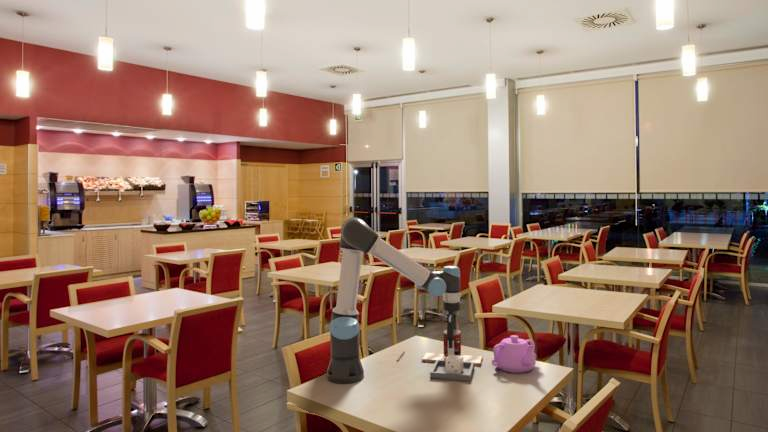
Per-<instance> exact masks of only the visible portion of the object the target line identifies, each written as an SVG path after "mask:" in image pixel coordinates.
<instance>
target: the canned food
mask: <svg viewBox="0 0 768 432" xmlns="http://www.w3.org/2000/svg"><path fill="white" fill-rule="evenodd" d="M442 336H443V337H442V339H443V354H444V356H445V357H447V356H448V341H447V340H446V339H447V329H445V330H443V335H442ZM449 338H451V337H449ZM453 339H454V355H458V356H461V355H462V332H461V330H460V329H457V330H456V329H454V338H453Z"/></svg>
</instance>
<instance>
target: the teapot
mask: <svg viewBox="0 0 768 432" xmlns="http://www.w3.org/2000/svg"><path fill="white" fill-rule="evenodd" d="M529 343H530V344H531V345H530V344H529ZM492 349H493V359H492V360H491V364H492V365H493V366H494V367H497V368H498V369H500V370H502V371H505V372H508V373H512V374H513V373H517V374H518V373H527V372H529V371H531V370H532V369H533V368H534V367H535V366H536V362H537V361H536V360H537V354H536V353H535V349H536V342H534V340H532V339H524V338H519V335H515V334H513V335H510V336H509V337H506V338H503V339H502V340H500V343H497V344H496V345H494V346H493V348H492Z"/></svg>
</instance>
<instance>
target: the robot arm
mask: <svg viewBox="0 0 768 432" xmlns="http://www.w3.org/2000/svg"><path fill="white" fill-rule="evenodd" d="M339 248H340V250H341V252H342V256H341V262H340V273H339V281H338V289H337V295H336V297H337V298H336V305H335V307H333V308H332V310H331V317H330V321H329V335H330V336H329V337H330V339H329V340H330V360H329V364H328V367H327V371H326V378H327V381H329V382H332V383H336V384H353V383H356V382H359V381H361V380H363V379H364V377H365V371H364V367H363V364H362V361H361V357H360V326H359V325H360V324H359V316H360V312H359V311H358V309H357V302H358V292H359V284H360V279H361V278H360V276H361V269H362V262H363V261H362V259H363V254H365V255H371V256H373V257H374V258H376V259H378V260H379V261H381V262H382V263H383V264H385V265H387V266H388V267H390V268H391V269H393V270H394V271H396V272H397V273H399V274H401V275H402V276H404V277H405V278H406V279H408V280H410V281H411V282H413V283H414V284H416V288H417V289H418V290H424V291H426V292H428V293H429V294H430V295H432V296H434V297H440V296H442V300H443V303H442V304H443V306H442V307H443V310H444V311H445V312H447V314H446V324H447V325H446V330H447V339H446V340H447V341H448V355H449V354H450V355H454V339H453V338H454V329H456V330H458V324H457V321H458V320H457V318H458V315H457V314H458V313H457V312H460V311H461V297H462V293H461V270H460V267H459V266H455V265H447V266H446V265H445V266H443V268H442V270H439V271H431V270H429V269H427V268H426V267H425V266H424V265H422V264H420V263H419V262H417V261H416V260H414V259H412V258H411V257H410V256H408V255H407V254H405V253H403V252H402V251H400V250H399V249H397V248H396V247H394V246H393V245H391V244H389V242H386V241H385V240H384V239H382V238H381V235H380V234H379V233H377V232H376V231H375V230H373V228H371V227H370V226H369V224H367V222H366V221H365V220H363V219H362V218H359V217H350V218H347V219H346V220H345V221H344V222H343V224H342V225H341V228H340V241H339ZM449 337H451V338H449Z"/></svg>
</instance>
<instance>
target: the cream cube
mask: <svg viewBox="0 0 768 432" xmlns="http://www.w3.org/2000/svg"><path fill="white" fill-rule="evenodd" d="M462 371H463V356H458V355H450V354H449V355H448V356H447V357H446V358H445V373H456V374H461V373H462Z"/></svg>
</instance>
